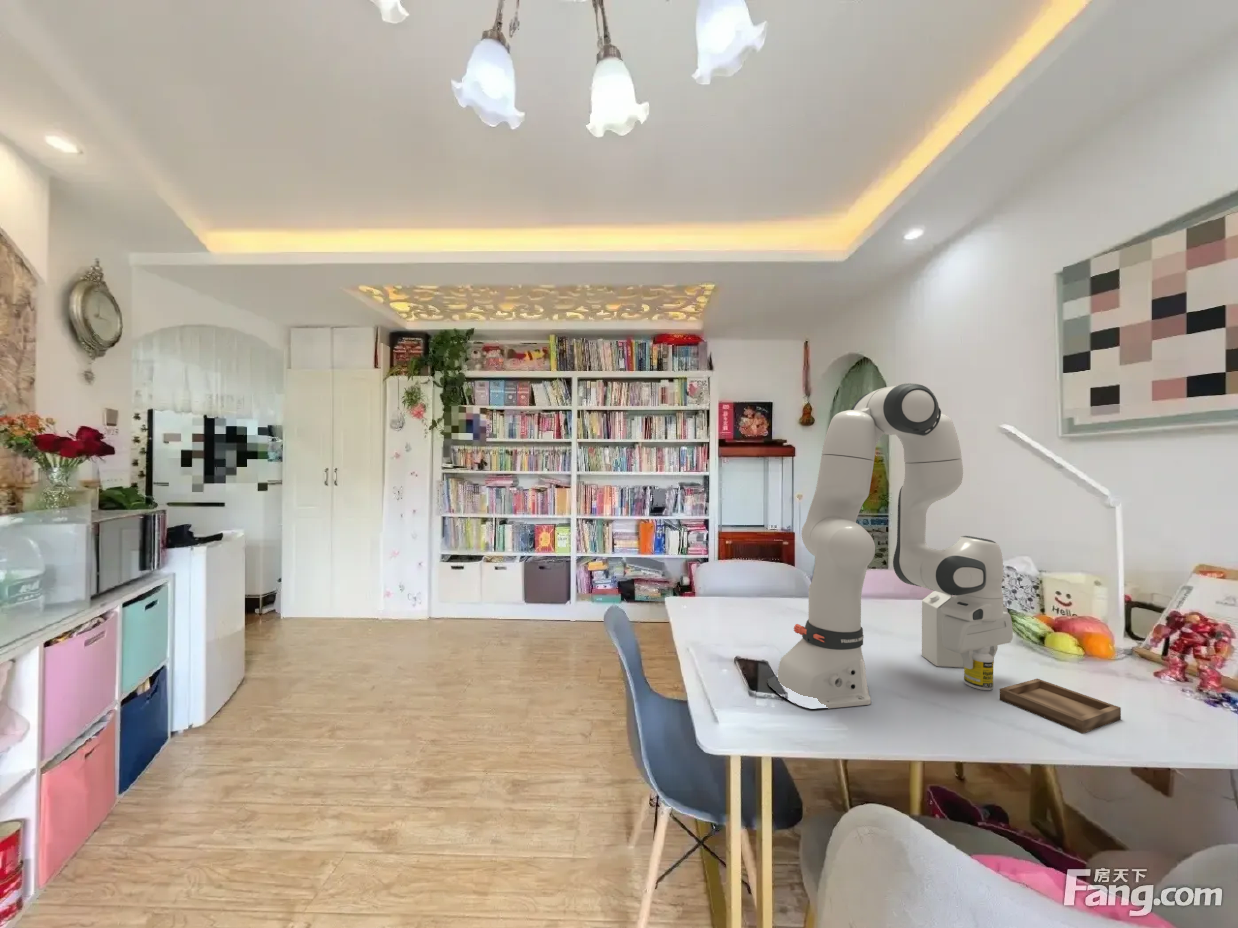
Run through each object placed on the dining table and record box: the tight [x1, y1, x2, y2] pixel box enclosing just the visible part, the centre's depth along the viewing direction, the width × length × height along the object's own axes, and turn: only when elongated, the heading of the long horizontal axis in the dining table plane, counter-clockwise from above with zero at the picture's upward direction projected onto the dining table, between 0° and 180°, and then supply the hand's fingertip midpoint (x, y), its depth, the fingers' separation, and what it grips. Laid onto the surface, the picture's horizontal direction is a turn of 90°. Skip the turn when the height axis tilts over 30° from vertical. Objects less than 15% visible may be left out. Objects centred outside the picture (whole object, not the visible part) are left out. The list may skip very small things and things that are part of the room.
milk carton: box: [921, 590, 964, 669], centre depth 123 cm, size 7×7×19 cm
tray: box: [999, 678, 1122, 734], centre depth 99 cm, size 14×14×2 cm
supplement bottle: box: [963, 646, 995, 691], centre depth 109 cm, size 5×5×10 cm
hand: (978, 665), depth 109 cm, fingers closed on supplement bottle, 5 cm apart
